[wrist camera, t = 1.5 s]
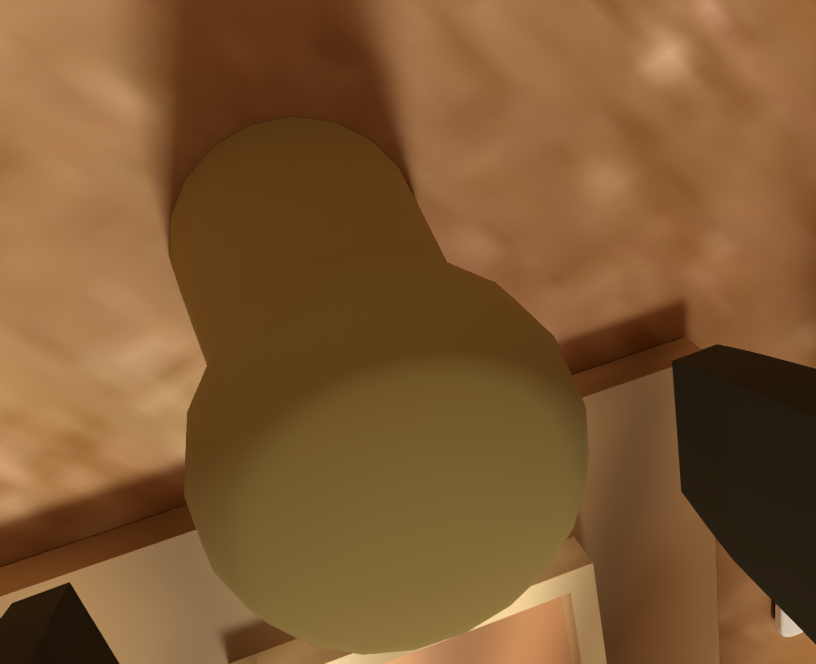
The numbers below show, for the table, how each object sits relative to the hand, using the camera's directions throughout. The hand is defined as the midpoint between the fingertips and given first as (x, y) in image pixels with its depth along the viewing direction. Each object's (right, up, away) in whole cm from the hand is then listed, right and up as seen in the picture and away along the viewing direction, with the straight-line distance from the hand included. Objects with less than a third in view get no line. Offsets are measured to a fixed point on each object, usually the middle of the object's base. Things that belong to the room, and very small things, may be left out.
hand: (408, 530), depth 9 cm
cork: (-3, +4, +9) cm, 11 cm away
